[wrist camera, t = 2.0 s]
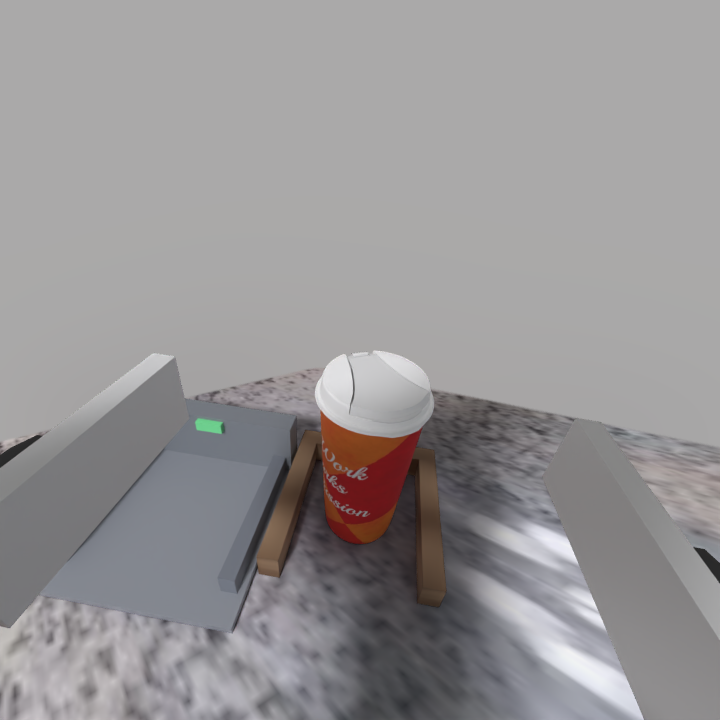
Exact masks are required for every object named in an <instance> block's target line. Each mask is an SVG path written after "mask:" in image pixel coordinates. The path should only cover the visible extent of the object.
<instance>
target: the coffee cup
mask: <svg viewBox="0 0 720 720" xmlns="http://www.w3.org/2000/svg"><path fill="white" fill-rule="evenodd" d="M368 355H369V356H368ZM315 398H316V402H317V404H318V406H319V408H320V410H321V434H322V459H323V482H324V501H325V513H326V518H327V522H328V524H329V526H330V528H331V530H332V531H333V532H334V533H335V534H336V535H337V536H338V537H339V538H341V539H343V540H344V541H347V542H350V543H354V544H366V543H370V542H373V541H375V540H377V539H378V538H380V537H381V536H382V535H383V534H384V533H385V531H386V530H387V528H388V526H389V524H390V522H391V519H392V516H393V514H394V511H395V508H396V505H397V502H398V499H399V496H400V493H401V490H402V487H403V484H404V481H405V478H406V476H407V473H408V469H409V466H410V463H411V460H412V457H413V454H414V451H415V448H416V445H417V442H418V439H419V436H420V433H421V430H422V427H423V425H424V424H425V423H426V422H427V421H428V420H429V418H430V417H431V415H432V413H433V409H434V399H433V395H432V392H431V386H430V381H429V379H428V377H427V375H426V374H425V372H424V371H423V370H422V369H421V368H420V367H419V366H417V365H416V364H415V363H413V362H411V361H410V360H408V359H406V358H404V357H401V356H398V355H396V354H392V353H388V352H383V351H373V353H370V354H368V352H359V353H352V356H346V355H345V354H343V355H341V356H338V357H337V358H335V359H334V360H332V361H331V362H330V363H329V364H328V365H327V367H326V368H325V370H324V372H323V375H322V377H321V378H320V379H319V381H318V383H317V385H316V389H315Z"/></svg>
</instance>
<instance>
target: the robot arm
mask: <svg viewBox="0 0 720 720" xmlns="http://www.w3.org/2000/svg"><path fill="white" fill-rule="evenodd" d="M188 419H189V415H188V411H187V407H186V402H185V398H184V393H183V389H182V385H181V381H180V376H179V372H178V367H177V363H176V359H175V356H168V355H162V354H156V353H153V354H152V355H150V356H149V357H148V358H146V359H145V360H144V361H142V362H141V363H140V364H138V365H137V366H136V367H134V368H133V369H132V370H130V371H129V372H128V373H126V374H125V375H124V376H122V377H121V378H120V379H118V380H117V381H116V382H114V383H113V384H112V385H110V386H109V387H108V388H106V389H105V390H104V391H102V392H101V393H100V394H98V395H97V396H96V397H94V398H93V399H92V400H90V401H89V402H88V403H86V404H85V405H84V406H82V407H81V408H80V409H78V410H77V411H76V412H74V413H73V414H72V415H70V416H69V417H68V418H66V419H65V420H64V421H62V422H61V423H60V424H58V425H57V426H56V427H54V428H53V429H52V430H50V431H49V432H48V433H46V434H45V435H44V436H40V435H36V436H34V437H32V438H30V439H28V440H26V441H24V442H22V443H20V444H18V445H16V446H13V447H11V448H10V449H8V450H7V451H5V452H4V453H3V454H1V455H0V626H2V627H7V628H10V627H11V626H12V625H13V624H14V623H15V622H16V620H17V619H18V618H19V617H20V616H21V615H22V613H23V612H24V611H25V610H26V609H27V608H28V606H29V605H30V604H31V603H32V602H33V601H34V599H35V598H36V597H37V596H38V595H39V594H40V592H41V591H42V590H43V589H44V588H45V587H46V585H47V584H48V583H49V582H50V581H51V580H52V578H53V577H54V576H55V575H56V574H57V573H58V571H59V570H60V569H61V568H62V567H63V566H64V564H65V563H66V562H67V561H68V560H69V559H70V557H71V556H72V555H73V554H74V553H75V551H76V550H77V549H78V548H79V547H80V546H81V544H82V543H83V542H84V541H85V540H86V539H87V537H88V536H89V535H90V534H91V533H92V532H93V530H94V529H95V528H96V527H97V526H98V525H99V523H100V522H101V521H102V520H103V519H104V518H105V516H106V515H107V514H108V513H109V512H110V511H111V509H112V508H113V507H114V506H115V505H116V504H117V502H118V501H119V500H120V499H121V498H122V497H123V495H124V494H125V493H126V492H127V491H128V490H129V488H130V487H131V486H132V485H133V484H134V483H135V481H136V480H137V479H138V478H139V477H140V476H141V474H142V473H143V472H144V471H145V470H146V468H147V467H148V466H149V465H150V464H151V463H152V461H153V460H154V459H155V458H156V457H157V456H158V454H159V453H160V452H161V451H162V450H163V449H164V447H165V446H166V445H167V444H168V443H169V442H170V440H171V439H172V438H173V437H174V436H175V435H176V433H177V432H178V431H179V430H180V429H181V428H182V426H183V425H184V424H185V423H186V422H187V421H188ZM542 478H543V480H544V483H545V485H546V487H547V490H548V492H549V494H550V497H551V499H552V502H553V504H554V506H555V509H556V511H557V513H558V516H559V518H560V521H561V523H562V525H563V528H564V530H565V532H566V535H567V537H568V540H569V542H570V544H571V547H572V549H573V551H574V554H575V556H576V559H577V561H578V563H579V566H580V568H581V570H582V573H583V575H584V578H585V580H586V582H587V585H588V587H589V589H590V592H591V594H592V597H593V599H594V601H595V604H596V606H597V608H598V611H599V613H600V616H601V618H602V620H603V623H604V625H605V627H606V630H607V632H608V635H609V637H610V639H611V642H612V644H613V646H614V649H615V651H616V654H617V656H618V658H619V661H620V663H621V665H622V668H623V670H624V673H625V675H626V677H627V680H628V682H629V684H630V687H631V689H632V692H633V694H634V696H635V699H636V701H637V703H638V706H639V708H640V711H641V713H642V715H643V718H644V720H720V563H719V562H718V561H717V560H716V559H715V558H714V557H713V556H711V555H710V554H709V553H708V552H707V551H706V550H705V549H701V548H695V547H692V545H691V544H690V542H689V541H688V540H687V538H686V537H685V536H684V534H683V533H682V532H681V530H680V529H679V528H678V526H677V525H676V523H675V522H674V521H673V519H672V518H671V517H670V515H669V514H668V513H667V511H666V510H665V508H664V507H663V506H662V504H661V503H660V502H659V500H658V499H657V498H656V496H655V495H654V494H653V492H652V491H651V489H650V488H649V487H648V485H647V484H646V483H645V481H644V480H643V479H642V477H641V476H640V474H639V473H638V472H637V470H636V469H635V468H634V466H633V465H632V464H631V462H630V461H629V460H628V458H627V457H626V455H625V454H624V453H623V451H622V450H621V449H620V447H619V446H618V445H617V443H616V442H615V440H614V439H613V438H612V436H611V435H610V434H609V432H608V431H607V430H606V428H605V427H604V426H603V424H602V423H601V422H597V421H591V420H584V419H578V418H576V419H575V420H574V422H573V424H572V426H571V427H570V429H569V431H568V433H567V434H566V436H565V438H564V439H563V441H562V443H561V445H560V446H559V448H558V450H557V452H556V453H555V455H554V457H553V459H552V460H551V462H550V464H549V466H548V467H547V469H546V471H545V472H544V474H543V476H542Z"/></svg>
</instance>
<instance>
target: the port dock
mask: <svg viewBox="0 0 720 720" xmlns="http://www.w3.org/2000/svg"><path fill="white" fill-rule="evenodd" d="M185 402H186V407H187V411H188V415H189V419H188V421H187V422H186V423H185V424H184V425H183V426H182V428H181V429H180V430H179V431H178V432H177V433H176V435H175V436H174V437H173V438H172V439H171V440H170V442H169V443H168V444H167V445H166V446H165V447H164V449H163V450H162V451H161V452H160V453H159V454H158V456H157V457H156V458H155V459H154V460H153V461H152V463H151V464H150V465H149V466H148V467H147V468H146V470H145V471H144V472H143V473H142V474H141V476H140V477H139V478H138V479H137V480H136V481H135V483H134V484H133V485H132V486H131V487H130V488H129V490H128V491H127V492H126V493H125V494H124V495H123V497H122V498H121V499H120V500H119V501H118V502H117V504H116V505H115V506H114V507H113V508H112V509H111V511H110V512H109V513H108V514H107V515H106V516H105V518H104V519H103V520H102V521H101V522H100V523H99V525H98V526H97V527H96V528H95V529H94V530H93V532H92V533H91V534H90V535H89V536H88V537H87V539H86V540H85V541H84V542H83V543H82V544H81V546H80V547H79V548H78V549H77V550H76V551H75V553H74V554H73V555H72V556H71V557H70V559H69V560H68V561H67V562H66V563H65V564H64V566H63V567H62V568H61V569H60V570H59V571H58V573H57V574H56V575H55V576H54V577H53V578H52V580H51V581H50V582H49V583H48V584H47V585H46V587H45V588H44V589H43V590H42V591H41V592H40V594H39V595H42V596H47V597H52V598H57V599H62V600H67V601H72V602H77V603H82V604H87V605H92V606H97V607H102V608H107V609H112V610H117V611H122V612H127V613H132V614H137V615H142V616H147V617H152V618H157V619H162V620H167V621H172V622H177V623H182V624H188V625H193V626H198V627H203V628H208V629H213V630H218V631H223V632H228V633H232V632H233V630H234V627H235V624H236V622H237V619H238V616H239V614H240V611H241V608H242V606H243V603H244V600H245V598H246V595H247V592H248V590H249V587H250V584H251V582H252V579H253V576H254V574H255V571H256V568H257V566H258V565H257V558H256V557H257V554H258V551H259V549H260V546H261V544H262V541H263V538H264V536H265V533H266V531H267V528H268V525H269V523H270V520H271V518H272V515H273V512H274V510H275V507H276V505H277V502H278V499H279V497H280V494H281V492H282V489H283V486H284V484H285V481H286V479H287V476H288V473H289V471H290V468H291V466H292V463H293V460H294V458H295V455H296V453H297V420H296V416H295V415H288V414H282V413H275V412H269V411H262V410H256V409H249V408H243V407H236V406H230V405H223V404H217V403H210V402H204V401H197V400H191V399H185Z"/></svg>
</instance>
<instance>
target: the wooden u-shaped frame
mask: <svg viewBox="0 0 720 720" xmlns="http://www.w3.org/2000/svg"><path fill="white" fill-rule="evenodd" d="M316 460H322V461H323V459H322V434H321V432H316V431H310V430H305V432H304V434H303V437H302V440H301V442H300V445H299V447H298V450H297V453H296V455H295V458H294V460H293V463H292V466H291V468H290V471H289V473H288V476H287V479H286V481H285V484H284V486H283V489H282V492H281V494H280V497H279V499H278V502H277V505H276V507H275V510H274V512H273V515H272V518H271V520H270V523H269V525H268V528H267V531H266V533H265V536H264V538H263V541H262V544H261V546H260V549H259V551H258V554H257V557H256V558H257V565H258V571H259V574H263V575H268V576H273V577H280V574H281V571H282V568H283V564H284V561H285V558H286V555H287V552H288V548H289V545H290V542H291V539H292V536H293V532H294V529H295V526H296V523H297V519H298V516H299V513H300V510H301V507H302V503H303V500H304V497H305V494H306V490H307V487H308V484H309V481H310V478H311V474H312V471H313V468H314V465H315V462H316ZM407 474H409V475H415V505H416V563H417V603H419V604H424V605H429V606H435V607H439V606H440V604H441V602H442V600H443V598H444V596H445V593H446V581H445V570H444V558H443V546H442V534H441V523H440V511H439V499H438V487H437V476H436V464H435V452H434V450H431V449H425V448H419V447H416V448H415V451H414V454H413V457H412V460H411V463H410V466H409V469H408V473H407Z"/></svg>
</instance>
